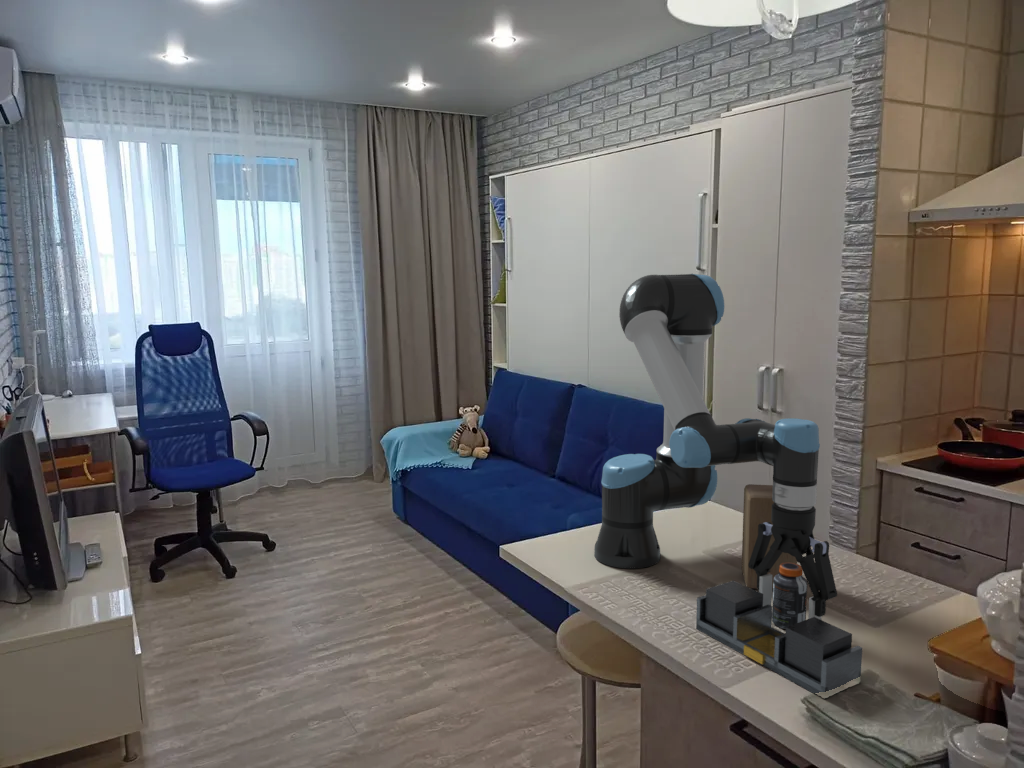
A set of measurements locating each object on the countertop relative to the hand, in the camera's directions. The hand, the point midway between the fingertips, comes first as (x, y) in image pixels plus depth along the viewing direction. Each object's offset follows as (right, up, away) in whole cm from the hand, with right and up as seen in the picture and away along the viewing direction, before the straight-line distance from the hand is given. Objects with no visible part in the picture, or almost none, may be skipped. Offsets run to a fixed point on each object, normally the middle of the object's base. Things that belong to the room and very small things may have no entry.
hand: (788, 619), depth 138 cm
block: (+3, +2, +19) cm, 19 cm away
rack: (-7, -3, -11) cm, 13 cm away
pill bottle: (0, -1, 0) cm, 1 cm away
